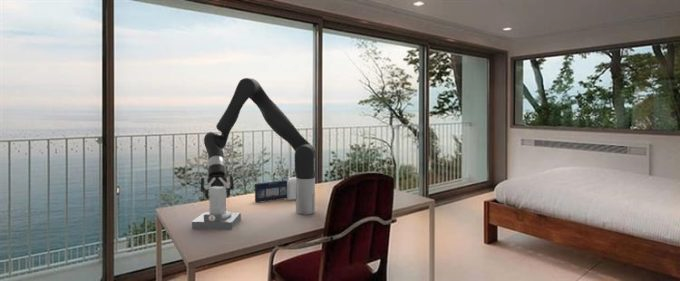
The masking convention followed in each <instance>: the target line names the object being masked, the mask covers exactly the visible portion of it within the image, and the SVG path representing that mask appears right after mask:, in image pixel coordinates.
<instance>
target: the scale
mask: <svg viewBox="0 0 680 281" xmlns="http://www.w3.org/2000/svg"><path fill="white" fill-rule="evenodd" d="M241 220H242V213H241V212H232V211H230V210H226V213H225V214H223V215H222V213H210V211H208V212H207V211H203V212H202V213H201V214H200V215H198V216H197V217H196V218H195V219H193V220H192V221H191V229H195V230H198V229H199V230H232V229H234V228H235V226H236V225H237V224H238V223H239V221H241Z"/></svg>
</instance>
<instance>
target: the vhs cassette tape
mask: <svg viewBox="0 0 680 281" xmlns="http://www.w3.org/2000/svg"><path fill="white" fill-rule="evenodd" d="M287 180H288V179H287ZM287 180H286V179H284V180H277V181H269V182H260V183H255V184H254V197H255V198H254V201H256V202H255V203H262V202H261V201H264V202H271V201H276V200H277V199H278V200H284V199H285V198H286V199H287ZM270 200H271V201H270Z"/></svg>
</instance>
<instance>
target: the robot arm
mask: <svg viewBox="0 0 680 281" xmlns="http://www.w3.org/2000/svg"><path fill="white" fill-rule="evenodd" d="M249 99H250V100H251V101H252V102H253V103H254V104H255V105H256V107H258V109H259V111H260V113H261V116H262V117H263V119H264V121H265V122H266V123H267V125H268V126H269V127H270V128H271V129H272V131H273V132H275V133H276V134H277V136H279V137H280V138H281V139H283V140H284V141H286V142H287V143H288V144H289V145H290V146H291V149H293V150H294V173H295V177H296V199H295V213H296V214H298V215H306V216H307V215H313V214H315V212H316V172H315V165H314V163H315V158H316V157H317V156H316V155H317V152H316V149H315V147H314V146H313V145H312V144H311V143H310V142H309V141H308V140H307V139H305V137H303V135H302V134H301V133H300V132H299V130H298V129H297V128H296V127H295V126H294V124H293V123H292V122H291V120H290V119H289V118H288V117H287V115H286V114H285V113H284V112H283V111H282V109H280V107H279V106H278V105H277V104H276V103H275V102H274V101H273V100H272V99H271V98H270V97H269V95H268V94H267V93H266V91H265V90H264V88H263V87H262V86H261V84H260V82H258V80H257V79H254V78H250V77H245V78H242V79H240V80H239V81H238V83H237V85H236V88H235V90H234V92H233V95H232V98H231V99H230V102H229V104H228V105H227V107H226V109H225V110H224V112H223V114H222V115H221V117H220V118H219V121H218V122H217V123H216V126H215V128H216V129H217V130H218V131H219V132H221V134H218V133H215V132H213V131H209V132H207V133H206V134H205V135H204V137H203V144H204V148H205V149H206V153H207V156H208V158H207V159H208V160H207V175H208V177H207V178H205V177H201V178H200V192H201V193H202V192H203V193H204V198H205V199H206V200H209V188H210V187H214V186H220V187H226V199H228V198H230V197H231V190H232V191H233V190H234V189H235V188H234V187H235V184H234V178H233V176H232V175H230V176H229V177H226V164H225V159H224V157H225V155H224V150H223V149H224V148H225V147H226V145H227V142H228V138H229V136H230V132H231V130H232V129H233V127H234V125H235V124H236V122H237V120H238V118H239V116H240V112H241V109H242V108H243V106H244V105H245V103H246V102H247V101H248V100H249ZM227 182H229V183H230V185H228V183H227ZM206 183H208V184H207V185H206V187H205V184H206Z"/></svg>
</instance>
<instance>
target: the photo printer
mask: <svg viewBox="0 0 680 281" xmlns="http://www.w3.org/2000/svg"><path fill="white" fill-rule="evenodd" d="M286 200H288V201H290V200H296V176H293V177H289V178H288V179H287V198H286Z"/></svg>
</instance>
